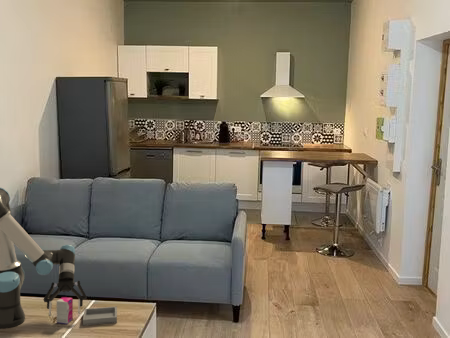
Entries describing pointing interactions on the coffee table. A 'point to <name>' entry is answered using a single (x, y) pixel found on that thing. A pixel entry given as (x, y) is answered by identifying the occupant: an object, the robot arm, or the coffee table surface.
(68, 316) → the supplement box
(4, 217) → the robot arm
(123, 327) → the coffee table surface
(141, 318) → the coffee table surface
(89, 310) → the tray
